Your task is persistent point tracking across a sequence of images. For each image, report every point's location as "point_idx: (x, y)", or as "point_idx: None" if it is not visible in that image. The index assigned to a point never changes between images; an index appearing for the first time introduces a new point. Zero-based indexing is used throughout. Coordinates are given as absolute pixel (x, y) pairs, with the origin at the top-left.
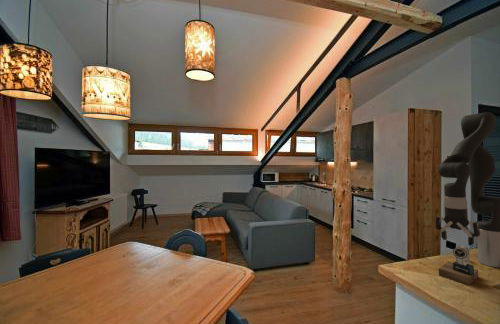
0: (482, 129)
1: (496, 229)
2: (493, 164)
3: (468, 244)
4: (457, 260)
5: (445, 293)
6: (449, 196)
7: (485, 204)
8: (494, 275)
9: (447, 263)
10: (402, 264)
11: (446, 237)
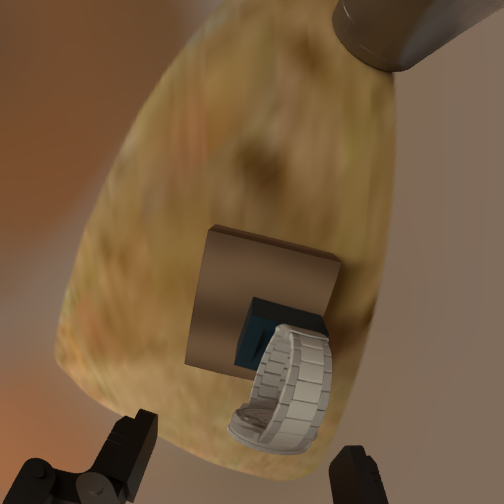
0: None
1: None
2: None
3: (329, 473)
4: (255, 405)
5: (230, 444)
6: None
7: None
8: (391, 180)
9: (206, 268)
10: (74, 320)
11: (151, 427)
